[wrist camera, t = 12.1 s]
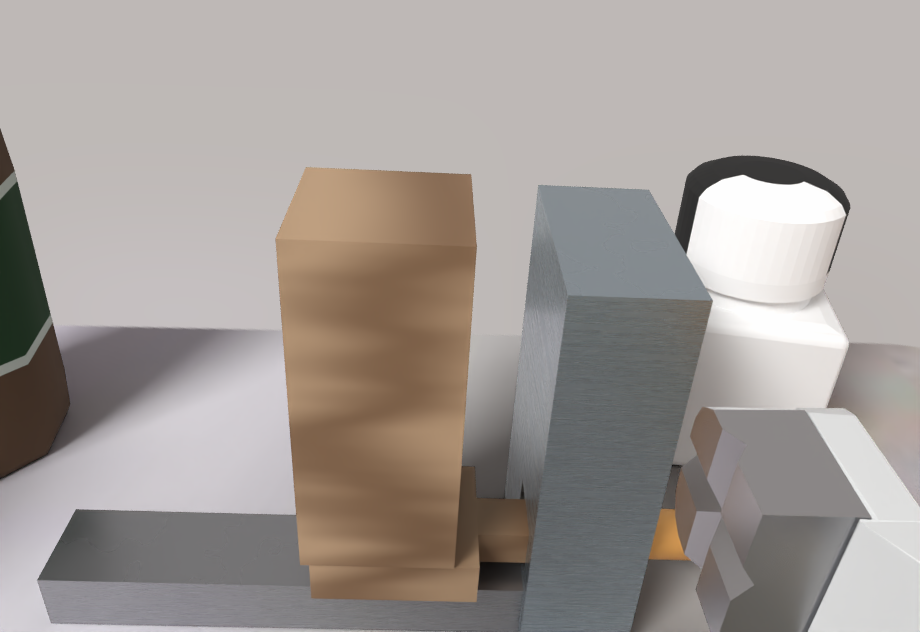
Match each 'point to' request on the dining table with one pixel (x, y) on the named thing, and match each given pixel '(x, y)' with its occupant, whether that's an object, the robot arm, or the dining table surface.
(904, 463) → the dining table surface
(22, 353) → the beer bottle
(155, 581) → the rail and cabinet
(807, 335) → the medicine bottle
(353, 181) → the carriage
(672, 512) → the pin
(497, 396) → the dining table surface
